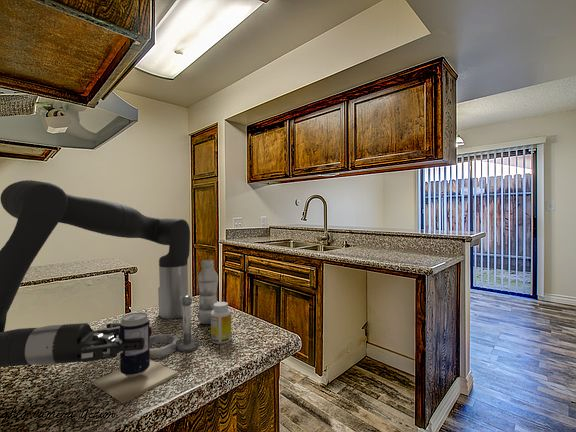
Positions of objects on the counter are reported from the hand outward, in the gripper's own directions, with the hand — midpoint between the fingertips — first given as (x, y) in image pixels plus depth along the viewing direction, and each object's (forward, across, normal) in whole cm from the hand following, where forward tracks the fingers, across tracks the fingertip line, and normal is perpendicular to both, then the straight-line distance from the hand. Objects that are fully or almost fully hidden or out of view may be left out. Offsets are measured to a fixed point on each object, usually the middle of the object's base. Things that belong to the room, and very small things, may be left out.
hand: (147, 337), depth 67 cm
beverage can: (-2, 0, +8) cm, 8 cm away
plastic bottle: (+11, +30, +9) cm, 34 cm away
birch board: (-2, 0, +9) cm, 9 cm away
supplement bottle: (+15, +16, +9) cm, 24 cm away
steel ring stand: (+1, +14, +9) cm, 17 cm away
